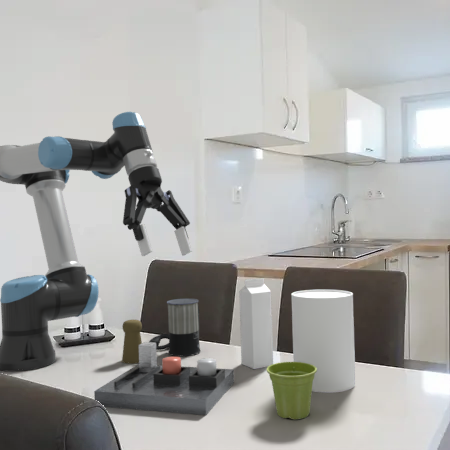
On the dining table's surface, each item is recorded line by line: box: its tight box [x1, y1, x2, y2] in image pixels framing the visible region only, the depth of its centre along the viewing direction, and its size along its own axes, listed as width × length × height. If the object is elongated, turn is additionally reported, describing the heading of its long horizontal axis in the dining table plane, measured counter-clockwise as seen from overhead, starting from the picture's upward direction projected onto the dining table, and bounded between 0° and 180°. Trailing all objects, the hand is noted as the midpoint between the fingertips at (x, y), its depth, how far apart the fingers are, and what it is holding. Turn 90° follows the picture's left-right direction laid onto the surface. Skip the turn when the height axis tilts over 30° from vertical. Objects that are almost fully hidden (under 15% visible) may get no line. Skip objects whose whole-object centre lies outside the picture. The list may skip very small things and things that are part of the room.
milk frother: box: [148, 298, 201, 357], centre depth 146 cm, size 14×16×15 cm
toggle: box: [138, 341, 158, 372], centre depth 116 cm, size 3×3×6 cm
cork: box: [121, 319, 143, 365], centre depth 137 cm, size 6×6×11 cm
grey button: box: [196, 357, 217, 377], centre depth 107 cm, size 4×4×3 cm
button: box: [162, 356, 182, 375], centre depth 109 cm, size 4×4×3 cm
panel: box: [93, 363, 235, 416], centre depth 109 cm, size 24×20×5 cm
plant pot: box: [266, 361, 317, 420], centre depth 95 cm, size 9×9×9 cm
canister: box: [290, 289, 356, 393], centre depth 113 cm, size 14×14×20 cm
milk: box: [238, 277, 274, 370], centre depth 129 cm, size 6×6×22 cm
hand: (168, 253), depth 116 cm, fingers open, 13 cm apart
